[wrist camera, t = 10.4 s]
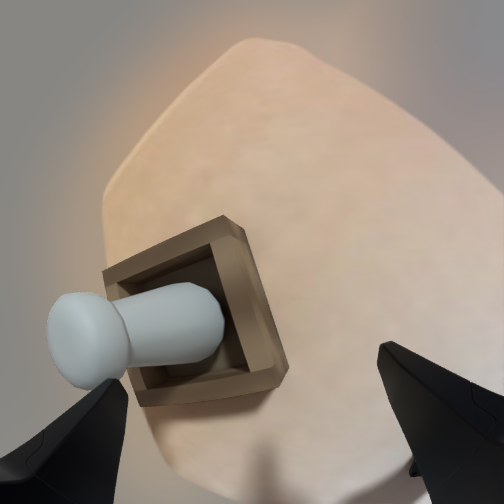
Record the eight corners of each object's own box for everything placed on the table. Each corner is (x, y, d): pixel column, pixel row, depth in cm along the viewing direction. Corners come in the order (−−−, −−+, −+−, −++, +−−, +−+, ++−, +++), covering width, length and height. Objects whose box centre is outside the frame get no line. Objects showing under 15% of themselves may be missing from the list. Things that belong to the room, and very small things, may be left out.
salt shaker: (173, 354, 21) (43, 395, 9) (166, 287, 22) (28, 278, 10) (239, 354, 20) (123, 427, 7) (231, 279, 20) (99, 264, 8)
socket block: (289, 367, 19) (278, 387, 15) (169, 391, 22) (140, 406, 18) (244, 229, 22) (223, 214, 17) (135, 274, 24) (102, 271, 20)
